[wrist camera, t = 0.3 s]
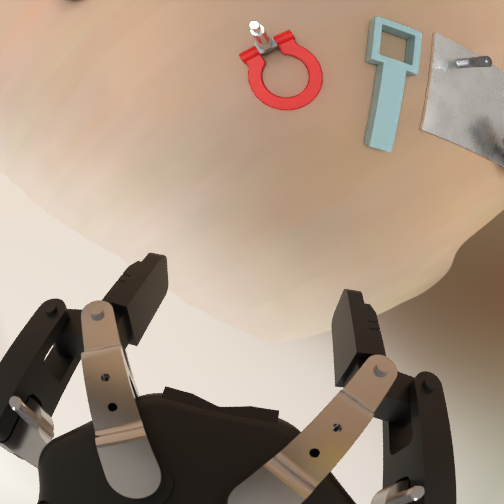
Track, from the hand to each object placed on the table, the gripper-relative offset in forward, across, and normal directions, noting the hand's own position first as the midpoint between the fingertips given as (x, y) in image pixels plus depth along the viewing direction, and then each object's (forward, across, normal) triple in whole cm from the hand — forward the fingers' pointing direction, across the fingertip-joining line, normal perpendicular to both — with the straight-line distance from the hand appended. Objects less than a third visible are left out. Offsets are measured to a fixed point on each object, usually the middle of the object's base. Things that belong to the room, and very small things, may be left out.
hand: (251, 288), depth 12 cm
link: (+27, -12, -12) cm, 32 cm away
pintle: (+27, -22, -20) cm, 41 cm away
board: (+27, -27, -16) cm, 41 cm away
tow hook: (+28, +1, -11) cm, 30 cm away
